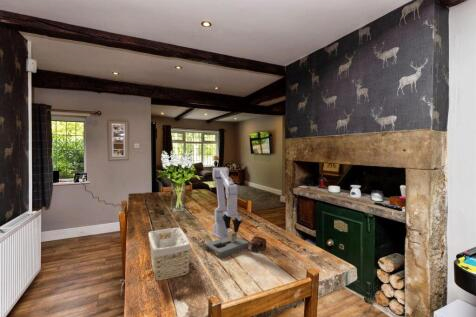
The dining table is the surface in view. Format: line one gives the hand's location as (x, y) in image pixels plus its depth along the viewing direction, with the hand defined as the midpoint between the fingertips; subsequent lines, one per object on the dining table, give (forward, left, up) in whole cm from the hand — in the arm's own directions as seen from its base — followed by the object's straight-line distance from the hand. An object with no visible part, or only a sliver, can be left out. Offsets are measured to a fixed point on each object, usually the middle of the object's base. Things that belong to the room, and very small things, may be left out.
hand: (231, 230), depth 134 cm
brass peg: (0, 0, -10) cm, 10 cm away
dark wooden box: (+12, +10, -10) cm, 19 cm away
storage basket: (-2, -37, -10) cm, 38 cm away
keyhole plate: (0, -4, -10) cm, 11 cm away
